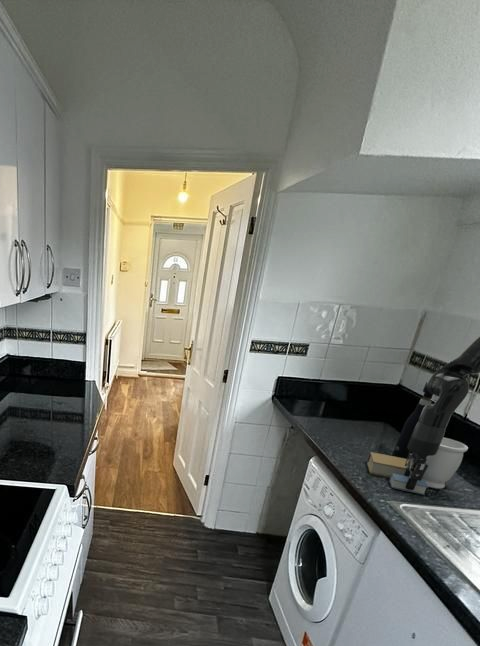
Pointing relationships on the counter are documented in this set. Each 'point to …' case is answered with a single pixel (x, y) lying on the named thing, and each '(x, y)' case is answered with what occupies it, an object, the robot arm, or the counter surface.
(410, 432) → the wine bottle
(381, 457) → the big book
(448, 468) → the jar
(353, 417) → the counter surface
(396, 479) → the pocket book
